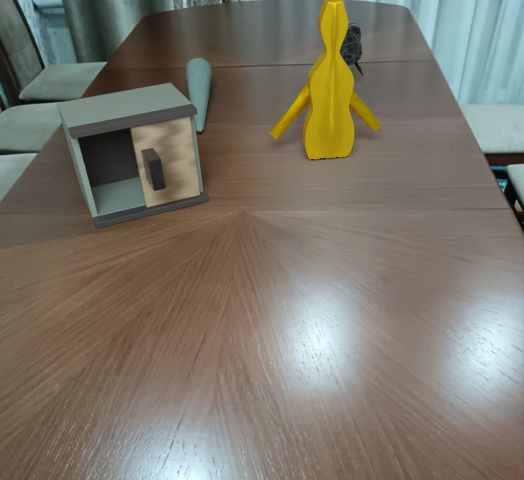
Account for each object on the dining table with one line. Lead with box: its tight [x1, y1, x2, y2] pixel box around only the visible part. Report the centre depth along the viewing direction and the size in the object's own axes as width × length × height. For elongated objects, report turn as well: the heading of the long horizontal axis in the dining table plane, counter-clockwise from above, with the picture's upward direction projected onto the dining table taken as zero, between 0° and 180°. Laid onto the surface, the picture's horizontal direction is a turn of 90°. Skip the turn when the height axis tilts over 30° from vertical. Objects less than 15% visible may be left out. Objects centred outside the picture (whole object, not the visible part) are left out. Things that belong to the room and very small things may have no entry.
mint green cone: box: [185, 57, 213, 132], centre depth 108 cm, size 5×6×27 cm
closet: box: [56, 82, 209, 229], centre depth 79 cm, size 16×12×13 cm
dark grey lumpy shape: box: [340, 20, 365, 77], centre depth 108 cm, size 8×11×20 cm
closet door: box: [130, 116, 200, 207], centre depth 75 cm, size 8×5×11 cm, turn 113°
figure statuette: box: [268, 0, 382, 160], centre depth 84 cm, size 18×8×22 cm, turn 95°
